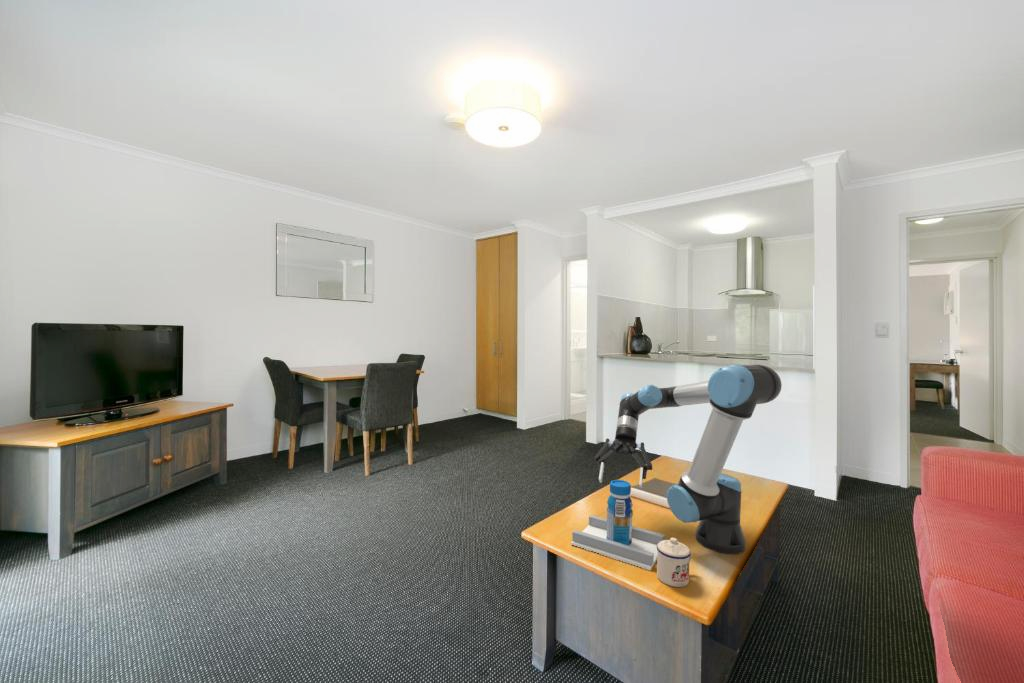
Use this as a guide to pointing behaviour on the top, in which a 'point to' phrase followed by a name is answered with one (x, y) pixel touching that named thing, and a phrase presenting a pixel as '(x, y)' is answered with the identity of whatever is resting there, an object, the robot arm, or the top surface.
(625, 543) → the beverage bottle
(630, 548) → the tray
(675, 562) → the teacup with lid
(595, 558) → the top surface
